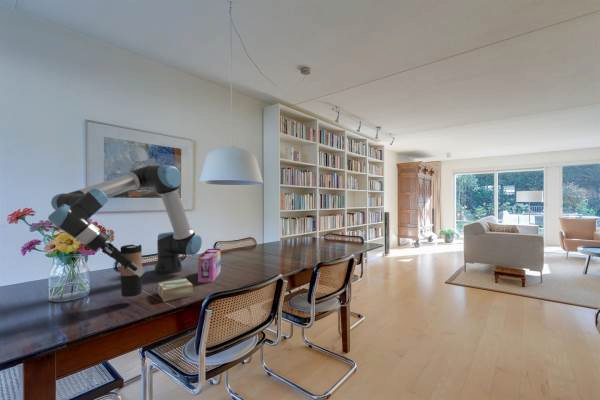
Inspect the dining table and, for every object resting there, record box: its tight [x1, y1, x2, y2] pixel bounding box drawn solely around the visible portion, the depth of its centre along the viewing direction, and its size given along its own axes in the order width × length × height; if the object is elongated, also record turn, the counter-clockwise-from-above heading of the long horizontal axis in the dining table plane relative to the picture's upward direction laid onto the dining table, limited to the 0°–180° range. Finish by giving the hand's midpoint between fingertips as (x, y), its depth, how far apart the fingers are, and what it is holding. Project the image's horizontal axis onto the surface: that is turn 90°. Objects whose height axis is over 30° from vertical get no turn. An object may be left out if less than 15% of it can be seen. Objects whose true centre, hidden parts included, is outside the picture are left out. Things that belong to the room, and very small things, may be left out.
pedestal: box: [157, 278, 194, 302], centre depth 127 cm, size 12×12×5 cm
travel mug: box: [120, 244, 143, 298], centre depth 117 cm, size 8×8×20 cm
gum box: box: [197, 248, 222, 283], centre depth 156 cm, size 24×8×14 cm, turn 6°
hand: (140, 271), depth 119 cm, fingers closed on travel mug, 7 cm apart
